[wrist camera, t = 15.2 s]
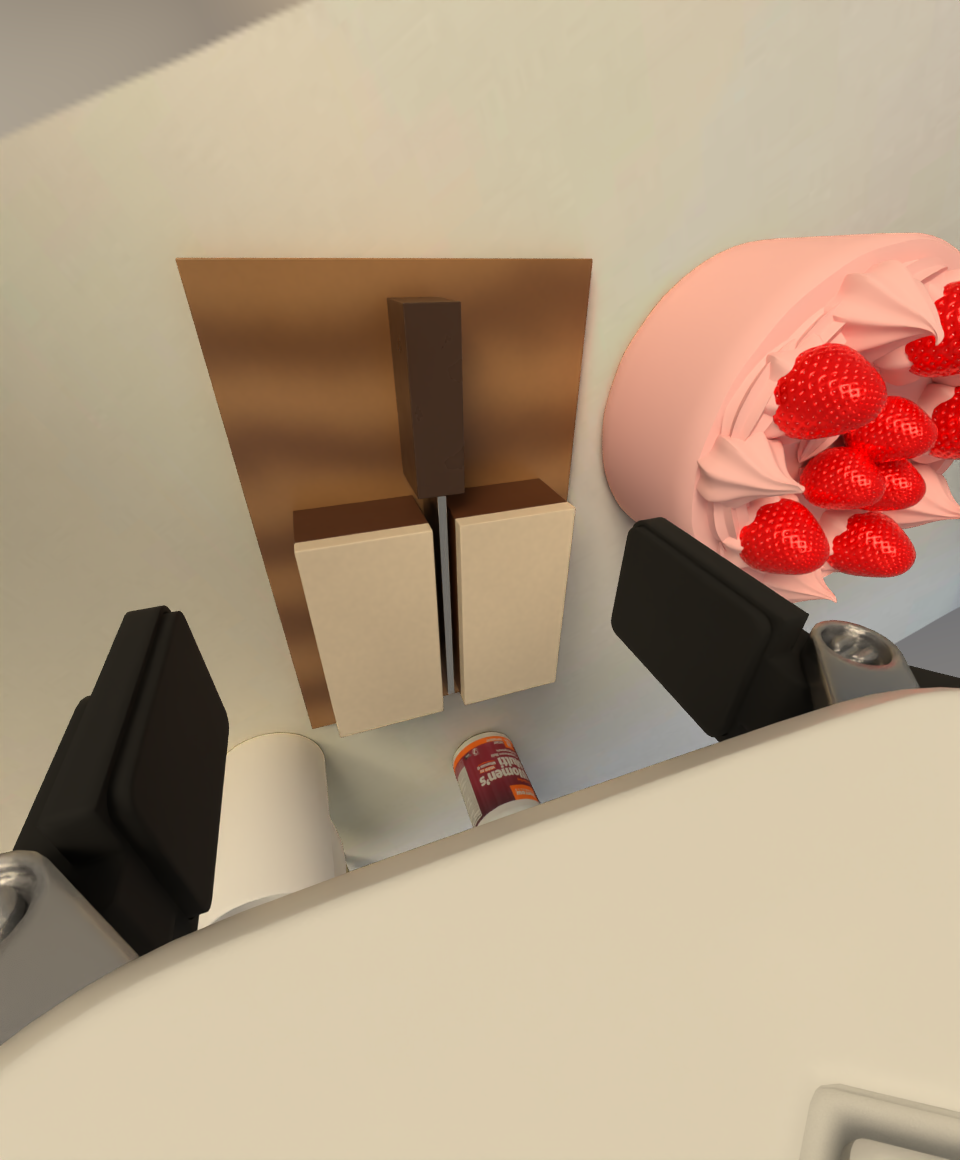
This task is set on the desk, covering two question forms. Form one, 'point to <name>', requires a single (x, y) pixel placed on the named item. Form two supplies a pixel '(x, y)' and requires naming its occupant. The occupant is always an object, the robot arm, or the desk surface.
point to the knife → (431, 426)
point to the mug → (272, 825)
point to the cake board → (377, 389)
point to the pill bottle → (492, 778)
